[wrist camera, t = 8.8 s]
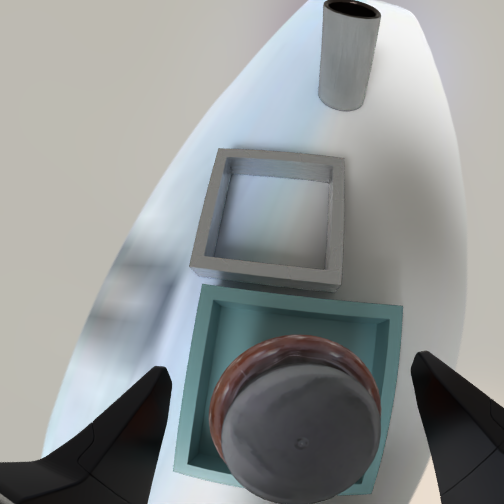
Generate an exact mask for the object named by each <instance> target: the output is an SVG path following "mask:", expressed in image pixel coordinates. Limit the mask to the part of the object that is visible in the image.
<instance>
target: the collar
mask: <svg viewBox="0 0 504 504" xmlns="http://www.w3.org/2000/svg"><path fill="white" fill-rule="evenodd" d="M231 174H240V175H255V176H268V177H280V178H291V179H301V180H311V181H320V182H329V206H328V228H327V245H326V260H325V270H322V269H313V268H304V267H295V266H286V265H277V264H268V263H259V262H251V261H242V260H233V259H225V258H216V257H214V253H215V248H216V243H217V238H218V234H219V229H220V224H221V219H222V215H223V210H224V205H225V201H226V196H227V192H228V187H229V183H230V178H231ZM343 242H344V158H338V157H330V156H321V155H312V154H302V153H291V152H279V151H265V150H247V149H221V148H218V152H217V155H216V159H215V163H214V166H213V170H212V174H211V178H210V181H209V185H208V189H207V193H206V197H205V201H204V205H203V209H202V213H201V217H200V221H199V225H198V230H197V234H196V238H195V242H194V247H193V251H192V256H191V260H190V265H189V267H190V268H191V269H192V270H193V271H194V272H195V273H196V274H197V275H198V276H200V277H207V278H215V279H222V280H230V281H238V282H245V283H253V284H262V285H270V286H278V287H287V288H296V289H305V290H314V291H323V292H333V293H335V292H336V291H337V289H338V288H339V287H340V286H341V280H342V264H343Z"/></svg>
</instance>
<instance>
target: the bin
mask: <svg viewBox="0 0 504 504" xmlns="http://www.w3.org/2000/svg"><path fill="white" fill-rule="evenodd" d="M402 316H403V306H398V305H385V304H373V303H362V302H351V301H341V300H331V299H321V298H311V297H302V296H293V295H285V294H276V293H268V292H260V291H252V290H244V289H236V288H229V287H222V286H214V285H207V284H202V288H201V293H200V298H199V303H198V309H197V314H196V320H195V325H194V331H193V336H192V342H191V348H190V354H189V360H188V366H187V372H186V378H185V385H184V391H183V398H182V405H181V412H180V419H179V426H178V433H177V441H176V449H175V457H174V466H173V472H177V473H180V474H184V475H187V476H191V477H195V478H199V479H203V480H207V481H211V482H215V483H220V484H225V485H230V486H235V487H241V488H244V487H243V486H242V485H241V484H240V483H239V482H238V481H237V480H236V479H235V478H234V476H233V475H232V474H231V472H230V470H229V468H228V467H227V464H226V463H225V462H224V461H223V459H222V458H221V457H220V455H219V453H218V451H217V449H216V447H215V445H214V443H213V440H212V437H211V433H210V427H209V407H210V401H211V397H212V394H213V391H214V388H215V386H216V384H217V382H218V381H219V379H220V377H221V375H222V374H223V372H224V371H225V370H226V368H227V367H228V366H229V365H230V364H231V363H232V362H233V361H234V360H235V359H236V358H237V357H238V356H239V355H240V354H242V353H243V352H244V351H246V350H247V349H249V348H251V347H252V346H254V345H256V344H258V343H261V342H263V341H265V340H268V339H272V338H275V337H279V336H285V335H312V336H317V337H321V338H325V339H328V340H331V341H333V342H337V343H338V344H340V345H342V346H343V347H345V348H347V349H349V350H350V351H352V352H353V353H354V354H355V355H356V356H357V357H359V358H360V359H361V360H362V362H363V363H364V364H365V365H366V367H367V368H368V369H369V371H370V372H371V374H372V376H373V378H374V379H375V382H376V385H377V387H378V389H379V395H380V400H381V437H380V443H379V448H378V451H377V453H376V456H375V458H374V460H373V462H372V464H371V465H370V466H369V468H368V470H367V471H366V472H365V473H364V475H363V476H362V477H361V478H360V479H359V480H358V481H357V482H356V483H355V484H353V485H352V486H351V487H350V488H348V489H347V490H345V491H344V492H342V493H340V494H338V495H364V494H371V493H372V490H373V487H374V484H375V480H376V477H377V474H378V470H379V466H380V462H381V459H382V455H383V451H384V446H385V442H386V438H387V433H388V428H389V423H390V418H391V413H392V407H393V401H394V395H395V388H396V381H397V374H398V365H399V356H400V345H401V333H402Z"/></svg>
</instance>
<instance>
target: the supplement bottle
mask: <svg viewBox="0 0 504 504" xmlns="http://www.w3.org/2000/svg"><path fill="white" fill-rule="evenodd" d="M209 427H210V433H211V437H212V440H213V443H214V445H215V447H216V449H217V451H218V453H219V455H220V457H221V458H222V459H223V461H224V462H225V463H226V464H227V467H228V468H229V470H230V472H231V474H232V475H233V476H234V478H235V479H236V480H237V481H238V482H239V483H240V484H241V485H242V486H243V487H244V488H246V489H247V490H248V491H250V492H251V493H253V494H255V495H256V496H259V497H261V498H262V499H265V500H268V501H271V502H274V503H280V504H313V503H317V502H321V501H324V500H327V499H330V498H332V497H334V496H336V495H338V494H340V493H342V492H344V491H345V490H347V489H348V488H350V487H351V486H352V485H353V484H355V483H356V482H357V481H358V480H359V479H360V478H361V477H362V476H363V475H364V473H365V472H366V471H367V470H368V468H369V466H370V465H371V464H372V462H373V460H374V458H375V456H376V453H377V451H378V448H379V443H380V437H381V400H380V395H379V389H378V387H377V385H376V382H375V379H374V378H373V376H372V374H371V372H370V371H369V369H368V368H367V367H366V365H365V364H364V363H363V362H362V360H361V359H360V358H359V357H357V356H356V355H355V354H354V353H353V352H352V351H350V350H349V349H347V348H345V347H343V346H342V345H340V344H338V343H337V342H333V341H331V340H328V339H325V338H321V337H317V336H312V335H285V336H279V337H275V338H272V339H268V340H265V341H263V342H261V343H258V344H256V345H254V346H252V347H251V348H249V349H247V350H246V351H244V352H243V353H242V354H240V355H239V356H238V357H237V358H236V359H235V360H234V361H233V362H232V363H231V364H230V365H229V366H228V367H227V368H226V370H225V371H224V372H223V374H222V375H221V377H220V379H219V381H218V382H217V384H216V386H215V388H214V391H213V394H212V397H211V401H210V407H209Z"/></svg>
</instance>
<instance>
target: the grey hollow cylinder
mask: <svg viewBox="0 0 504 504" xmlns="http://www.w3.org/2000/svg"><path fill="white" fill-rule="evenodd" d="M380 19H381V14H380V12H379V11H378V10H377V9H375V8H374V7H372V6H370V5H368V4H365V3H362V2H359V1H355V0H327V1H325V2H324V5H323V27H322V45H321V61H320V75H319V87H318V95H319V98H320V99H321V101H322V102H323V103H325V104H326V105H327V106H329V107H331V108H334V109H337V110H342V111H351V110H355V109H358V108H359V107H360V106H361V105H362V103H363V100H364V97H365V92H366V88H367V84H368V79H369V75H370V70H371V66H372V61H373V56H374V51H375V46H376V41H377V36H378V30H379V25H380Z"/></svg>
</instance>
